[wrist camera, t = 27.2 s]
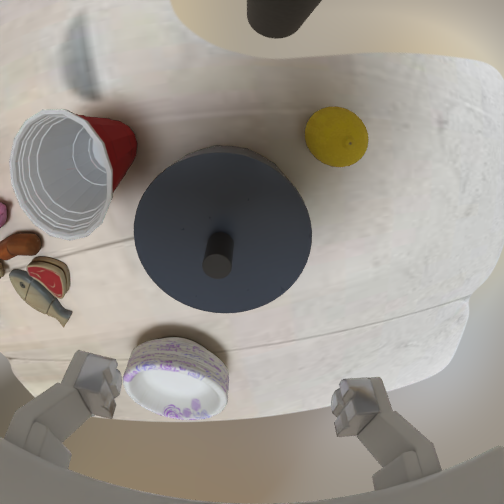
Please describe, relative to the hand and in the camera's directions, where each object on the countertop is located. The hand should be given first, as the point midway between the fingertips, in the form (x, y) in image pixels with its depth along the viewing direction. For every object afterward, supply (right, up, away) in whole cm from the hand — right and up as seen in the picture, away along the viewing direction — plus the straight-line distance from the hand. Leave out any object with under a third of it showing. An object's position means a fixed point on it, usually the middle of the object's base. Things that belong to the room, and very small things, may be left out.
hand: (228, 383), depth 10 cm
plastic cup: (-14, +16, +19) cm, 28 cm away
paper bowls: (-10, -12, +34) cm, 38 cm away
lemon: (+8, +17, +18) cm, 26 cm away
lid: (-2, +6, +18) cm, 19 cm away
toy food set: (-35, +5, +25) cm, 43 cm away
